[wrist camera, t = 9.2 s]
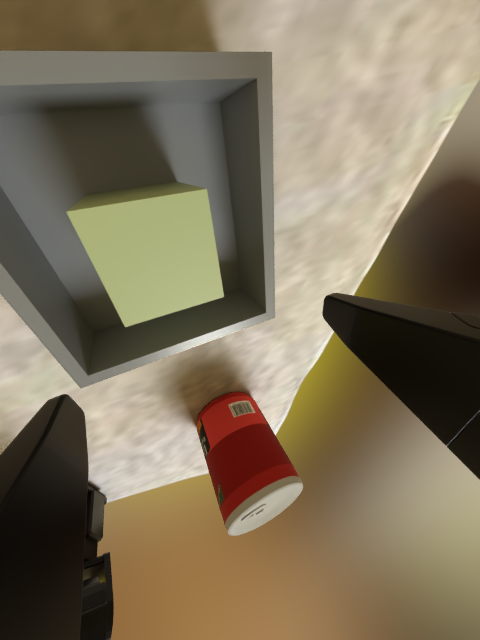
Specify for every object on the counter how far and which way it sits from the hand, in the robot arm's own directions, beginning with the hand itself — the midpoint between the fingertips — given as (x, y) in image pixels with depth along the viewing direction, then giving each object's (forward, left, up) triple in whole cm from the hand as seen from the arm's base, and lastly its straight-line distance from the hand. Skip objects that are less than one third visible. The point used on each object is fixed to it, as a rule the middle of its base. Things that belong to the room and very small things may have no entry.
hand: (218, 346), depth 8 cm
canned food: (+1, -21, -11) cm, 24 cm away
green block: (-1, +2, -10) cm, 10 cm away
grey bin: (-1, +2, -11) cm, 11 cm away
